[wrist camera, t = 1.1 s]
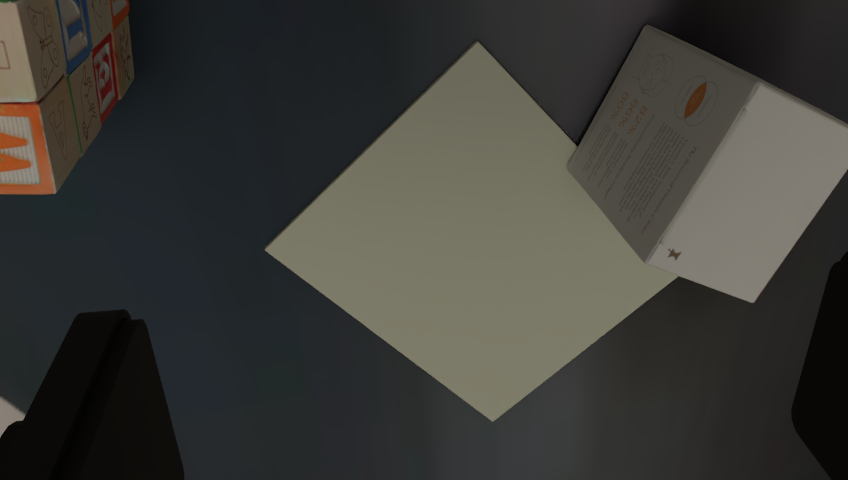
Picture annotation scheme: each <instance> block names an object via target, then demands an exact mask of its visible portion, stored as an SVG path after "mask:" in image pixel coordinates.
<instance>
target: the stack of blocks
mask: <svg viewBox="0 0 848 480" xmlns="http://www.w3.org/2000/svg"><path fill="white" fill-rule="evenodd" d="M128 13H129V0H0V194H55V193H56V192H57V191H58V190H59V189H60V187H61V185H62V184H63V182H64V181H65V179H66V178H67V176H68V175H69V173H70V172H71V170H72V168H73V167H74V165H75V164H76V162H77V160H78V159H79V158H81V157H82V156H83V155H84V153H85V152H86V150H87V147H89V146H90V144H91V143H92V141H93V139H95V138H96V136H97V134H98V133H99V131H100V130H101V125H102V124H103V122H104V121H105V119H106V118H107V117H108V115H109V114H110V112H111V110H112V109H113V107H114V106H115V104H116V103H117V101H118V100H120V99H121V98H123V96H124V94H125V93H126V91H127V90H128V88H129V86H130V85H131V83H132V82H133V80H134V68H133V58H132V49H131V38H130V29H129V19H128Z"/></svg>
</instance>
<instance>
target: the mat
mask: <svg viewBox="0 0 848 480" xmlns="http://www.w3.org/2000/svg"><path fill="white" fill-rule="evenodd" d="M577 148H578V146H577V145H576V144H575V143H574V142H573V141H572V140H571V139H570V138H569V137H568V136H567V135H566V134H565V133H564V132H563V131H562V130H561V128H560V127H559V126H558V125H557V124H556V123H555V122H554V121H553V120H552V119H551V118H550V117H549V116H548V115H547V114H546V113H545V112H544V111H543V109H542V108H541V107H540V106H539V105H538V104H537V103H536V102H535V101H534V100H533V99H532V98H531V97H530V96H529V95H528V94H527V93H526V91H525V90H524V89H523V88H522V87H521V86H520V85H519V84H518V83H517V82H516V81H515V80H514V79H513V78H512V77H511V76H510V75H509V74H508V72H507V71H506V70H505V69H504V68H503V67H502V66H501V65H500V64H499V63H498V62H497V61H496V60H495V59H494V58H493V57H492V56H491V54H490V53H489V52H488V51H487V50H486V49H485V48H484V47H483V46H482V45H481V44H480V43H479V42H478V41H476V42H474V43H473V44H472V45H471V46H470V47H469V48H468V49H467V50H466V51H465V52H464V53H463V54H462V55H461V56H460V57H459V58H458V59H457V60H456V61H455V62H454V63H453V64H452V65H451V66H450V67H449V68H448V69H447V70H446V71H445V72H444V73H443V74H442V75H441V76H440V77H439V78H438V79H437V80H436V81H435V82H434V83H433V84H431V85H430V86H429V87H428V88H427V89H426V90H425V91H424V92H423V93H422V94H421V95H420V96H419V97H418V98H417V99H416V100H415V101H414V102H413V103H412V104H411V105H410V106H409V107H408V108H407V109H406V110H405V111H404V112H403V113H402V114H401V115H400V116H399V117H398V118H397V119H396V120H395V121H394V122H393V123H392V124H391V125H390V126H388V127H387V128H386V129H385V130H384V131H383V132H382V133H381V134H380V135H379V136H378V137H377V138H376V139H375V140H374V141H373V142H372V143H371V144H370V145H369V146H368V147H367V148H366V149H365V150H364V151H363V152H362V153H361V154H360V155H359V156H358V157H357V158H356V159H355V160H354V161H353V162H352V163H351V164H350V165H349V166H348V167H347V168H345V169H344V170H343V171H342V172H341V173H340V174H339V175H338V176H337V177H336V178H335V179H334V180H333V181H332V182H331V183H330V184H329V185H328V186H327V187H326V188H325V189H324V190H323V191H322V192H321V193H320V194H319V195H318V196H317V197H316V198H315V199H314V200H313V201H312V202H311V203H310V204H309V205H308V206H307V207H306V208H305V209H303V210H302V211H301V212H300V213H299V214H298V215H297V216H296V217H295V218H294V219H293V220H292V221H291V222H290V223H289V224H288V225H287V226H286V227H285V228H284V229H283V230H282V231H281V232H280V233H279V234H278V235H277V236H276V237H275V238H274V239H273V240H272V241H271V242H270V243H269V244H268V245H267V246H266V247H265V251H266V252H268V253H269V254H270V255H272V256H273V257H274V258H276V259H277V260H278V261H280V262H281V263H282V264H284V265H285V266H286V267H288V268H289V269H290V270H292V271H293V272H294V273H296V274H297V275H298V276H300V277H301V278H302V279H304V280H305V281H306V282H308V283H309V284H310V285H312V286H313V287H314V288H316V289H317V290H318V291H320V292H321V293H322V294H324V295H325V296H326V297H328V298H329V299H330V300H332V301H333V302H334V303H336V304H337V305H338V306H340V307H341V308H342V309H344V310H345V311H346V312H348V313H349V314H350V315H352V316H353V317H354V318H356V319H357V320H358V321H360V322H361V323H362V324H364V325H365V326H366V327H368V328H369V329H370V330H371V331H373V332H374V333H375V334H377V335H378V336H379V337H381V338H382V339H383V340H385V341H386V342H387V343H389V344H390V345H391V346H393V347H394V348H395V349H397V350H398V351H399V352H401V353H402V354H403V355H405V356H406V357H407V358H409V359H410V360H411V361H413V362H414V363H415V364H417V365H418V366H419V367H421V368H422V369H423V370H425V371H426V372H427V373H429V374H430V375H431V376H433V377H434V378H435V379H437V380H438V381H439V382H441V383H442V384H443V385H445V386H446V387H447V388H449V389H450V390H451V391H453V392H454V393H455V394H457V395H458V396H459V397H461V398H462V399H463V400H465V401H466V402H467V403H469V404H470V405H471V406H473V407H474V408H475V409H477V410H478V411H479V412H480V413H482V414H483V415H484V416H486V417H487V418H488V419H490V420H491V421H492V422H493V421H494V420H496V419H497V418H498V417H499V416H501V415H502V414H503V413H505V412H506V411H507V410H508V409H510V408H511V407H512V406H513V405H515V404H516V403H517V402H519V401H520V400H521V399H522V398H524V397H525V396H526V395H528V394H529V393H530V392H531V391H533V390H534V389H535V388H536V387H538V386H539V385H540V384H542V383H543V382H544V381H545V380H547V379H548V378H549V377H550V376H552V375H553V374H554V373H556V372H557V371H558V370H559V369H561V368H562V367H563V366H564V365H566V364H567V363H568V362H570V361H571V360H572V359H573V358H575V357H576V356H577V355H578V354H580V353H581V352H582V351H584V350H585V349H586V348H587V347H589V346H590V345H591V344H592V343H594V342H595V341H596V340H598V339H599V338H600V337H601V336H603V335H604V334H605V333H606V332H608V331H609V330H610V329H612V328H613V327H614V326H615V325H617V324H618V323H619V322H621V321H622V320H623V319H624V318H626V317H627V316H628V315H629V314H631V313H632V312H633V311H635V310H636V309H637V308H638V307H640V306H641V305H642V304H643V303H645V302H646V301H647V300H649V299H650V298H651V297H652V296H654V295H655V294H656V293H657V292H659V291H660V290H661V289H663V288H664V287H665V286H666V285H668V284H669V283H670V282H671V281H673V280H674V279H675V278H677V277H678V275H675V274H672V273H669V272H667V271H664V270H661V269H658V268H656V267H653V266H650V265H647V264H645V263H644V262H643V261H642V260H641V259H640V258H639V256H638V255H637V254H636V253H635V252H634V250H633V249H632V248H631V247H630V246H629V244H628V243H627V242H626V241H625V240H624V238H623V237H622V236H621V235H620V233H619V232H618V231H617V230H616V228H615V227H614V226H613V225H612V223H611V222H610V221H609V220H608V218H607V217H606V216H605V215H604V213H603V212H602V211H601V210H600V209H599V207H598V206H597V205H596V203H595V202H594V201H593V200H592V199H591V198H590V196H589V195H588V194H587V193H586V192H585V190H584V189H583V188H582V187H581V185H580V184H579V183H578V182H577V181H576V180H575V178H574V177H573V176H572V175H571V174H570V172H569V171H568V170H567V166H568V164H569V162H570V161H571V159H572V157H573V155H574V153H575V152H576V150H577Z"/></svg>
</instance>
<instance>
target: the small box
mask: <svg viewBox="0 0 848 480" xmlns="http://www.w3.org/2000/svg"><path fill="white" fill-rule="evenodd" d="M847 169H848V124H846V123H844V122H843V121H841V120H839V119H837V118H835V117H833V116H832V115H830V114H828V113H826V112H824V111H822V110H820V109H818V108H816V107H814V106H812V105H811V104H809V103H807V102H805V101H803V100H801V99H799V98H797V97H795V96H793V95H791V94H789V93H787V92H785V91H783V90H781V89H779V88H778V87H776V86H774V85H772V84H770V83H768V82H766V81H764V80H762V79H760V78H758V77H756V76H754V75H752V74H750V73H748V72H746V71H744V70H742V69H740V68H738V67H736V66H734V65H732V64H730V63H728V62H726V61H724V60H722V59H720V58H718V57H716V56H714V55H712V54H710V53H707V52H705V51H703V50H701V49H699V48H697V47H695V46H693V45H691V44H689V43H687V42H684V41H682V40H680V39H678V38H676V37H674V36H672V35H669V34H667V33H665V32H663V31H661V30H659V29H656V28H654V27H652V26H650V25H645V26H644V27H643V29H642V31H641V33H640V35H639V37H638V39H637V41H636V43H635V44H634V46H633V48H632V50H631V52H630V53H629V55H628V57H627V59H626V61H625V62H624V64H623V66H622V68H621V70H620V71H619V73H618V75H617V77H616V79H615V81H614V83H613V84H612V86H611V88H610V90H609V92H608V93H607V95H606V97H605V99H604V101H603V102H602V104H601V106H600V108H599V110H598V112H597V113H596V115H595V117H594V119H593V121H592V123H591V124H590V126H589V128H588V130H587V132H586V134H585V135H584V137H583V139H582V141H581V143H580V144H579V146H578V148H577V150H576V152H575V153H574V155H573V157H572V159H571V161H570V162H569V164H568V166H567V170H568V171H569V172H570V174H571V175H572V176H573V177H574V178H575V180H576V181H577V182H578V183H579V184H580V185H581V187H582V188H583V189H584V190H585V192H586V193H587V194H588V195H589V196H590V198H591V199H592V200H593V201H594V202H595V203H596V205H597V206H598V207H599V209H600V210H601V211H602V212H603V213H604V215H605V216H606V217H607V218H608V220H609V221H610V222H611V223H612V225H613V226H614V227H615V228H616V230H617V231H618V232H619V233H620V235H621V236H622V237H623V238H624V240H625V241H626V242H627V243H628V244H629V246H630V247H631V248H632V249H633V250H634V252H635V253H636V254H637V255H638V256H639V258H640V259H641V260H642V261H643V262H644V263H645V264H647V265H650V266H653V267H656V268H658V269H661V270H664V271H667V272H669V273H672V274H675V275H678V276H680V277H683V278H686V279H689V280H691V281H694V282H697V283H699V284H702V285H705V286H708V287H710V288H713V289H716V290H718V291H721V292H724V293H726V294H729V295H732V296H735V297H737V298H740V299H743V300H746V301H748V302H751V303H753V302H755V301H756V299H757V298H758V296H759V295H760V293H761V292H762V290H763V289H764V287H765V286H766V285H767V283H768V282H769V280H770V279H771V277H772V276H773V275H774V273H775V272H776V270H777V269H778V268H779V266H780V265H781V263H782V262H783V260H784V259H785V257H786V256H787V255H788V253H789V252H790V250H791V249H792V247H793V246H794V245H795V243H796V242H797V240H798V239H799V238H800V236H801V235H802V233H803V232H804V230H805V229H806V227H807V226H808V225H809V223H810V222H811V221H812V219H813V218H814V216H815V215H816V213H817V212H818V210H819V209H820V208H821V206H822V205H823V203H824V202H825V201H826V199H827V198H828V196H829V195H830V194H831V192H832V191H833V189H834V188H835V186H836V185H837V184H838V182H839V181H840V179H841V178H842V177H843V175H844V174H845V172H846V171H847Z"/></svg>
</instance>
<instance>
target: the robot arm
mask: <svg viewBox="0 0 848 480" xmlns="http://www.w3.org/2000/svg"><path fill="white" fill-rule="evenodd" d="M791 413H792V421H793V425H794V428H795V430H796V432H797V434H798V435H799V437H800V438H801V439H802V441H803V442H804V443H805V445H806V446H807V447H808V449H809V450H810V451H811V453H812V454H813V455H814V457H815V458H816V459H817V461H818V462H819V463H820V465H821V466H822V467H823V469H824V470H825V472H826V473H827V474H828V476H829V477H830V478H831V480H848V252H846V253H845V254H844V256H843V257H842V258H841V261H839V262H836V263H835V264H834V265H833V266H832V267H831V270H830V272H829V276H828V279H827V283H826V287H825V290H824V294H823V297H822V301H821V305H820V308H819V312H818V315H817V319H816V322H815V326H814V330H813V333H812V337H811V340H810V344H809V348H808V351H807V355H806V358H805V362H804V366H803V369H802V373H801V376H800V380H799V384H798V387H797V391H796V394H795V398H794V401H793V405H792V411H791ZM0 480H184V470H183V465H182V461H181V457H180V453H179V449H178V445H177V441H176V438H175V434H174V430H173V426H172V422H171V418H170V414H169V410H168V407H167V403H166V399H165V395H164V391H163V387H162V383H161V379H160V376H159V372H158V368H157V364H156V360H155V356H154V352H153V349H152V345H151V341H150V337H149V333H148V329H147V326H146V324H145V322H144V320H142V319H138V320H132V319H131V316H130V315H129V313H128V312H127V311H126V310H111V311H99V312H87V313H80V314H78V315H77V316H76V317H75V319H74V321H73V323H72V325H71V327H70V329H69V331H68V333H67V335H66V337H65V339H64V341H63V342H62V344H61V346H60V348H59V350H58V352H57V354H56V356H55V358H54V360H53V362H52V364H51V366H50V368H49V370H48V372H47V374H46V376H45V378H44V380H43V382H42V384H41V386H40V388H39V390H38V392H37V394H36V396H35V398H34V400H33V402H32V404H31V406H30V408H29V410H28V412H27V414H26V416H25V418H24V420H23V421H16V422H14V423H12V424H11V425H9V426H8V427H7V429H6V430H5V432H4V433H3V434H2V436H1V438H0Z"/></svg>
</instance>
